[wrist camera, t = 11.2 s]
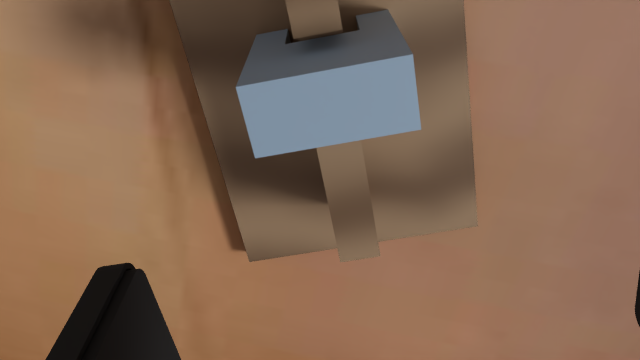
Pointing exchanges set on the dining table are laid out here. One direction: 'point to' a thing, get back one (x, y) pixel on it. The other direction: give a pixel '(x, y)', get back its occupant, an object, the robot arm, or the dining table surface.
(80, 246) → the dining table surface
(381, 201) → the walnut stand
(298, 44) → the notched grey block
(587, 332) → the dining table surface
